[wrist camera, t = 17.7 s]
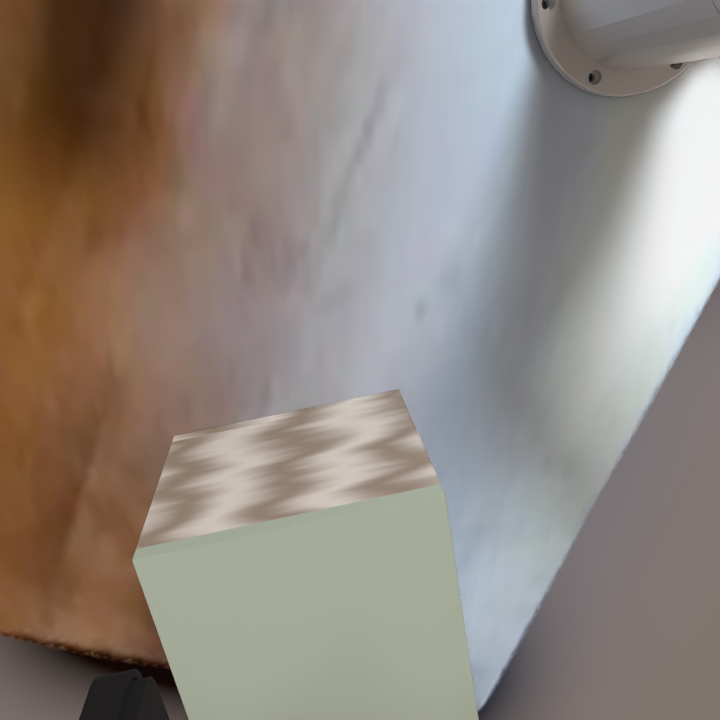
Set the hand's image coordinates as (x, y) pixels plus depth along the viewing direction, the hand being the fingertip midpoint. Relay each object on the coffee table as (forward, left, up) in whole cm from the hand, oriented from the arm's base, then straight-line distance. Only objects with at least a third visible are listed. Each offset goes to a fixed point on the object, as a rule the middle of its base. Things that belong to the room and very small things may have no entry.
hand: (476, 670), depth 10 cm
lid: (+5, +21, -24) cm, 32 cm away
